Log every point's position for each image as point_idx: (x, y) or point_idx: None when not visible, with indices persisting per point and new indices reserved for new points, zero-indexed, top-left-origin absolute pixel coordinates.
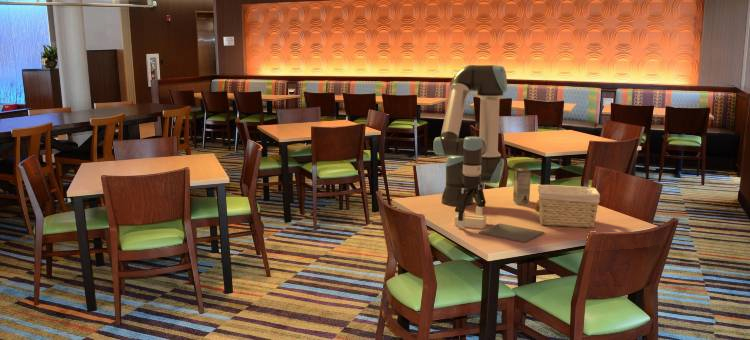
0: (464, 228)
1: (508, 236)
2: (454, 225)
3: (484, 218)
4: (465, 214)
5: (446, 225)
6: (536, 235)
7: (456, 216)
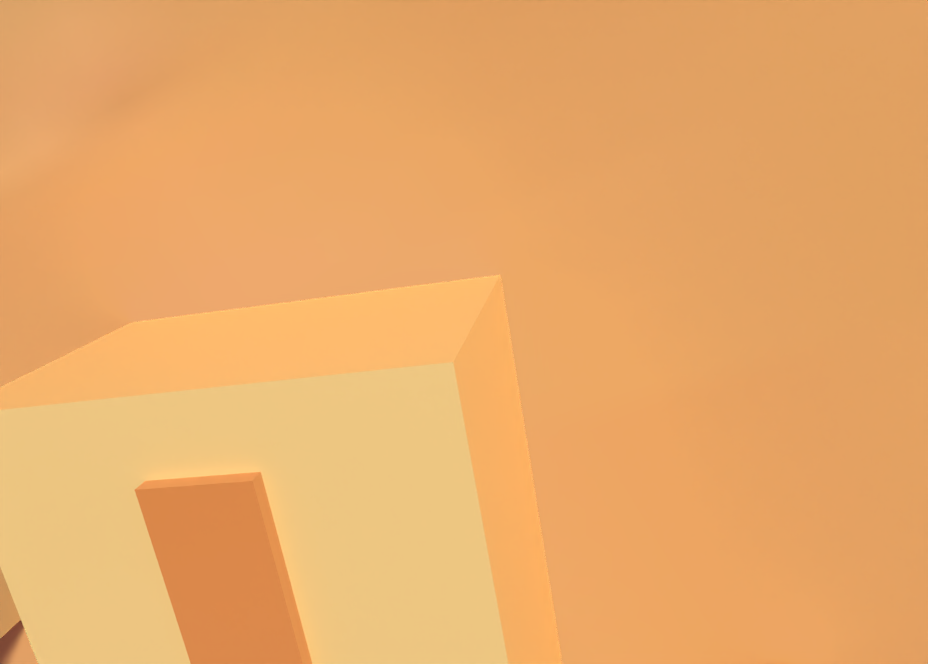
0: (12, 618)
1: None
2: (127, 325)
3: None
4: (487, 636)
5: (15, 132)
6: None
7: (36, 448)
